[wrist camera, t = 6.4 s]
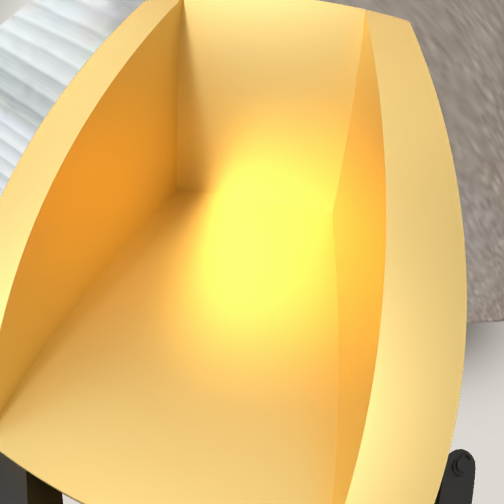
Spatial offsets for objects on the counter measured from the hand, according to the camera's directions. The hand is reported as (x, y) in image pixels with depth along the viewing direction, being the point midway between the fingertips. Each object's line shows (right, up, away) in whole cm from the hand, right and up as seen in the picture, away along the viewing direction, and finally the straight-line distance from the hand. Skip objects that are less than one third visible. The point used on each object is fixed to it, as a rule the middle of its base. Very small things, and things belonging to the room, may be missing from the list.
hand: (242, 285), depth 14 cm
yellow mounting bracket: (+1, +3, +3) cm, 5 cm away
